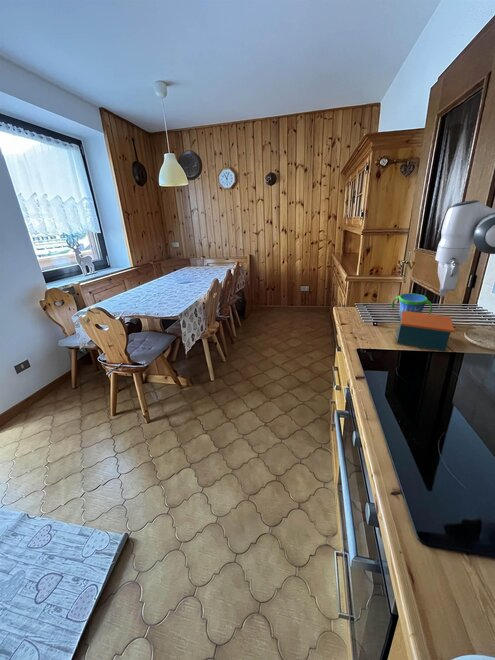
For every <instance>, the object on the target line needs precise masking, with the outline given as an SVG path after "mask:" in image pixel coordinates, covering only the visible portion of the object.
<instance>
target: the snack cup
mask: <svg viewBox="0 0 495 660" xmlns="http://www.w3.org/2000/svg"><path fill="white" fill-rule="evenodd" d="M397 299H398V301H399V318H400V319H401V314H402V311H409V312H417V313H423V310H424V308H425V305H426V304H427V305H429V311H428V314H432V312H433V304H432V302H431V301H430V300H429V299H428V297H427V296H426V295H423V294H421V293H420V294H419V293H413V292H411V293H409V292H406V293H402V294H400V295H397V296H396V297H394V298H393V300H392V302H391V309H394V308H395V301H396V300H397Z"/></svg>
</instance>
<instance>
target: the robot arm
mask: <svg viewBox="0 0 495 660" xmlns="http://www.w3.org/2000/svg"><path fill="white" fill-rule="evenodd" d="M440 233H441V235H440V236H441V238H440V240H439V242H438V245H437V250H436V254H435V257H434V260H435V261H436V262H437V263H438V264H437V276H438V281H439V291H438V292H439V293H438V294H439V297H446V296H447V292H454V291H455V290H456V288H457V284H458V281H459V275H460V270H461V266H462V264H464V263H467V262H468V261H469V256H470V252H471V249H472V245H474V246H475V248H476V250H478V251H480V252H481V253H484V254H488V255H495V208H492V207H489V206H488V205H486V204H485V203H482V202H481V200H477V199H474V200H473V199H472V200H465V201H460V202H457V203H455V204H452V206H450V207H449V208H448V210H447V211H446V213H445V216H444V219H443V223H442V228H441V231H440Z"/></svg>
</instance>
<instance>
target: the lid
mask: <svg viewBox="0 0 495 660" xmlns="http://www.w3.org/2000/svg"><path fill="white" fill-rule="evenodd" d="M400 319H401V325H403V326H410V327H417V328H424V329H431V330H438V331H446V332H451V333H455V328H454V324H453V320H452V317H451V316H450V315H441V314H433V313H431V314H429V313H424V312H422V313H417V312H409V311H402V316H401V318H400Z"/></svg>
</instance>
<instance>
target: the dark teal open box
mask: <svg viewBox="0 0 495 660" xmlns="http://www.w3.org/2000/svg"><path fill="white" fill-rule="evenodd" d="M401 316H402V314H401ZM451 333H452V332H446V331H438V330H431V329H424V328H417V327H410V326H403V325H401V318H400V319H399V324H398V329H397V339H396V340H397V341H396V344H397V345H404V346H410V347H416V348H423V349H429V350H433V351H434V350H435V351H441V352H446V350H447V346H448V343H449V340H450V336H451Z"/></svg>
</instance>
